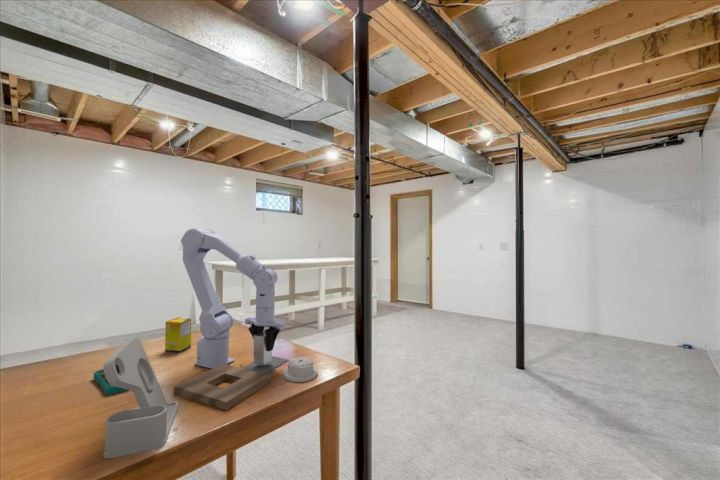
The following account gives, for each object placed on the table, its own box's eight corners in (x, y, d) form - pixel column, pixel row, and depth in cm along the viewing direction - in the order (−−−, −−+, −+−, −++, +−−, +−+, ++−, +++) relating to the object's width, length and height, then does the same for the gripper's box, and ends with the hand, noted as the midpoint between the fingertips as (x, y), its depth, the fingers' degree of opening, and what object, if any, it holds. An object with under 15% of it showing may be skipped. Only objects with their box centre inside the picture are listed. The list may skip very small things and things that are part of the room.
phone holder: (163, 448, 59) (165, 355, 59) (98, 462, 55) (100, 362, 55) (179, 403, 75) (181, 330, 75) (130, 411, 71) (131, 334, 71)
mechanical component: (277, 380, 88) (309, 385, 86) (277, 365, 88) (310, 369, 86) (291, 367, 98) (321, 370, 96) (292, 353, 98) (321, 356, 96)
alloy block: (253, 363, 96) (253, 335, 96) (262, 358, 100) (262, 331, 100) (263, 365, 95) (263, 337, 94) (272, 360, 98) (272, 333, 98)
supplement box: (176, 346, 113) (177, 317, 113) (191, 347, 113) (192, 317, 113) (164, 352, 107) (165, 321, 107) (179, 353, 107) (180, 322, 107)
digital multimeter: (107, 398, 77) (107, 387, 77) (92, 380, 86) (93, 370, 86) (141, 388, 83) (141, 377, 83) (124, 372, 92) (124, 362, 92)
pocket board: (173, 394, 79) (173, 386, 79) (222, 370, 94) (223, 363, 94) (226, 410, 72) (226, 401, 72) (270, 381, 87) (270, 374, 87)
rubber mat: (236, 371, 93) (236, 370, 93) (267, 356, 106) (267, 355, 106) (260, 377, 89) (260, 376, 89) (288, 360, 102) (288, 359, 102)
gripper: (238, 306, 97) (237, 349, 97) (275, 311, 91) (274, 357, 91) (254, 302, 103) (253, 342, 103) (289, 307, 98) (288, 349, 98)
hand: (264, 349), depth 98 cm, fingers closed on alloy block, 4 cm apart
